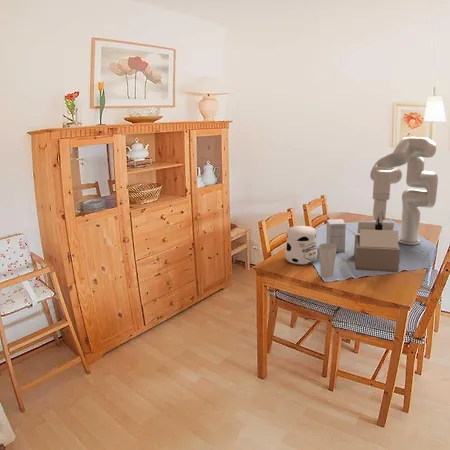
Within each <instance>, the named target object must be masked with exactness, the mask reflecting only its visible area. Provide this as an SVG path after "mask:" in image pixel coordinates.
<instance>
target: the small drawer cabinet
mask: <svg viewBox="0 0 450 450" xmlns="http://www.w3.org/2000/svg"><path fill="white" fill-rule="evenodd" d="M346 225H347V224H346V222H345V220H344V219H343V218H339V219H338V218H336V219H326V243H331V244H334V245H336V246H337V250H336V253H337V252H338V253H339V252H340V253H341V252H343V253H344V252H346V230H347V228H346Z"/></svg>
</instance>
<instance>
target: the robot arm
mask: <svg viewBox="0 0 450 450" xmlns="http://www.w3.org/2000/svg"><path fill="white" fill-rule="evenodd" d="M436 152H437V145H436V142H435V141H433V140H432V139H430V138H428V137H424V136H423V137H422V136H421V137H418V136H417V137H416V136H407V137H403V138H402V139H400V141H399V142H398V144H397V145H396V147H395V148H394V150H393V152H392V153H390V154H387V155H385V156H383V157H381V158H380V159H378V160H377V161H376V162H375V163H374V165H373V166H372V168H371V170H370V176H369V177H370V179H371V180H372V181H373V186H372V187H373V189H372V200H373V201H374V202H373V208H372V209H373V210H372V217H373V219H374V220H375V222H376V224H375V230H382V226H383V224H382V223H383V222H384V221H385V220H386V215H387V214H386V213H387V201H389V200H390V195H391V185H393V184H398V183H399V182H400V181H401V180H402V177H403V172H402V170H401V169H400V168H397V167H401V166H404V165H406V164H407V165H406V166H407V168H406V176H405V177H406V179H405V180H406V181H405V183H406V186H408V187H410V188H409V189H405V190H404V191H402V194H401V203H402V213H401V225H400V234H399V235H400V236H398V243H400V244H403V245H410V246H411V245H412V246H414V245H419V244H421V239H420V238H419V230H420V221H421V212H420V209H419V207H420V208H426V209H427V208H429V209H432V208H433V207H434V206H435V205H436V200H437V191H438V183H439V177H438V174H437V173H436V172H434V171H429V170H428V171H427V170H425V161H424V158H430V159H431V158H432V157H434V156H435V154H436ZM414 188H415V189H414ZM416 188H417V189H416ZM424 189H425V190H424Z"/></svg>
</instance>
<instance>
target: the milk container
mask: <svg viewBox="0 0 450 450" xmlns="http://www.w3.org/2000/svg"><path fill="white" fill-rule="evenodd" d="M318 252H319V251H318V248H317V231H316V229H315V228H314V227H312V226H308V225H296V226H295V225H294V226H291V227H288V228H287V229H286V247H285V249H284V257H285V259H286V261H287V262H288V263H289V264H293V265H296V266H306V265H312V264H313V263H315V262H316V261H317V259H318V254H319V253H318Z"/></svg>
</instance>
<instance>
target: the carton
mask: <svg viewBox="0 0 450 450" xmlns="http://www.w3.org/2000/svg"><path fill="white" fill-rule="evenodd" d="M353 247H354V248H353V250H354V251H353V259H354V267H355V270H357V271H373V272H374V271H376V272H387V273H389V272H390V273H391V272H392V273H398V272H399V268H400V267H399V265H400V258H401V257H400V253H401V249H400V246H399V245H398V248H382V247H360V234H354V246H353Z"/></svg>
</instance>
